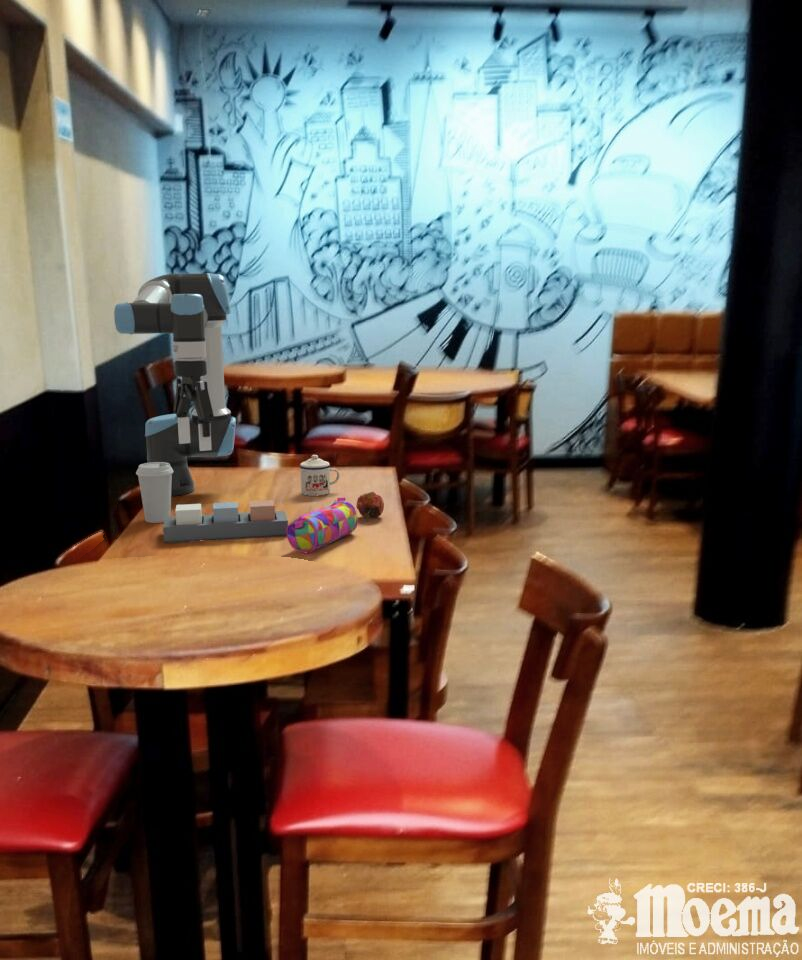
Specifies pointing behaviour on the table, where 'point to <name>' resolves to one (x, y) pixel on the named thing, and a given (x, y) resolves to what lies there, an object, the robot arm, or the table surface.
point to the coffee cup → (155, 490)
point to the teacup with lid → (316, 476)
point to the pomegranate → (370, 505)
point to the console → (225, 529)
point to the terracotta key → (262, 510)
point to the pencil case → (322, 526)
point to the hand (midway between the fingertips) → (194, 446)
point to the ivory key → (188, 514)
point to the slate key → (225, 512)
